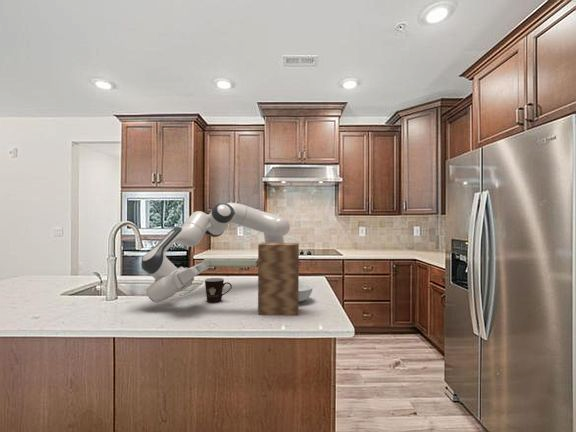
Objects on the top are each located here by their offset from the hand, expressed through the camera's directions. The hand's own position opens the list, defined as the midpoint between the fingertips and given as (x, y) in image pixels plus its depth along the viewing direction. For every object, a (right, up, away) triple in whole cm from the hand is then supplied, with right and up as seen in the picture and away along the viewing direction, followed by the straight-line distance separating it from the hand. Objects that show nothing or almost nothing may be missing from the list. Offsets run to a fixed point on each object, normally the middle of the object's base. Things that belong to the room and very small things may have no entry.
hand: (211, 261), depth 147 cm
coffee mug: (-1, -21, +15) cm, 25 cm away
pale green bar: (+8, -2, 0) cm, 8 cm away
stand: (+28, -21, -1) cm, 35 cm away
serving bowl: (+33, -21, +17) cm, 42 cm away
